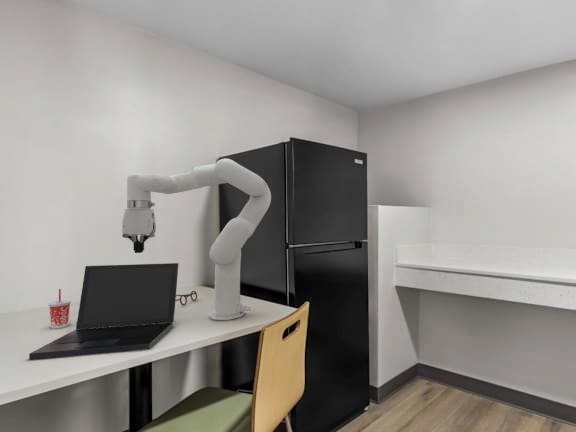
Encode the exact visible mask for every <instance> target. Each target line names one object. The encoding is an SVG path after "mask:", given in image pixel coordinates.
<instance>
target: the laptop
mask: <svg viewBox="0 0 576 432" xmlns="http://www.w3.org/2000/svg"><path fill="white" fill-rule="evenodd" d="M173 328H174V322H172V323H158V324H144V325H130V326H116V327H102V328H88V329H76V328H75V329H74V330H72V331H70V332H68V333H66V334H64V335H62V336H60V337H58V338H57V339H54V340H53V341H50V342H49V343H47V344H45V345H43V346H41V347H40V348H38V349H36V350H34V351H31V352H29V354H28V360H29V361H30V360H31V361H32V360H44V359H45V360H46V359H57V358H65V357H66V358H67V357H77V356H89V355H100V354H111V353H122V352H123V353H124V352H134V351H144V350H147V351H148V350H150V349H151V348H153V347H154V345H156V344H157V343H158V342H159V341H160V340H161V339H162V338H163V337H164V336H165V335H166V334H167V333H169V332H170V331H171V330H172V329H173Z"/></svg>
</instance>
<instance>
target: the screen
mask: <svg viewBox="0 0 576 432" xmlns="http://www.w3.org/2000/svg"><path fill="white" fill-rule="evenodd" d="M83 275H84V276H83V280H82V287H81V294H80V300H79V307H78V314H77V320H76V325H75V327H76V328H75V330H76V329H89V328H103V327H117V326H131V325H145V324H159V323H174V322H175V311H176V301H175V300H177V296H176V295H177V287H178V277H179V276H178V275H179V263H178V262H174V263H173V262H169V263H167V262H166V263H141V264H139V263H138V264H109V265H105V264H104V265H86V266H85V268H84V273H83Z"/></svg>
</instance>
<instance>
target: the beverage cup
mask: <svg viewBox="0 0 576 432" xmlns="http://www.w3.org/2000/svg"><path fill="white" fill-rule="evenodd" d="M61 290H62V289H61V288H59V289H58V300H57V301H52V302H49V303H48V307H49V316H50V317H49V319H50V328H51V329H53V330H54V329H56V330H57V329H62V328H66V327H68V326H69V318H70V307H71V303H72V300H62V299H61V297H62V291H61Z"/></svg>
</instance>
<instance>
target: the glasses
mask: <svg viewBox="0 0 576 432" xmlns="http://www.w3.org/2000/svg"><path fill="white" fill-rule="evenodd" d="M193 295H195V298H193ZM176 297H179V298H176V300H175V302H178V301H179V303H180V305H181V306H186V305H187V304H188V298H189V297H190V299H191V301H193V302H195V301H197V299H198V293H197V291H195V290H192V291H191V292H190V293H186V294H176ZM183 297H184V299H185V301H184V303H183V301H182V299H183Z"/></svg>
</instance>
